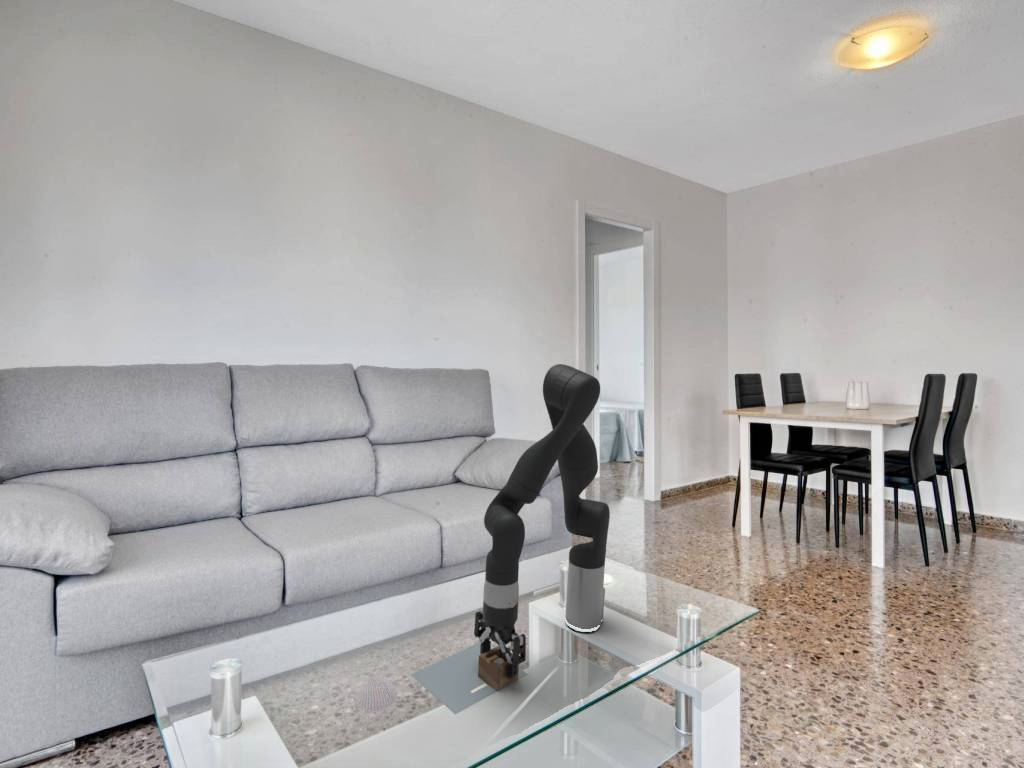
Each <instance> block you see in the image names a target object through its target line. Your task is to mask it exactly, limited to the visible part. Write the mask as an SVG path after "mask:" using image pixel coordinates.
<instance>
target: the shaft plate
mask: <svg viewBox="0 0 1024 768" xmlns="http://www.w3.org/2000/svg"><path fill="white" fill-rule="evenodd" d="M480 646H481V643H480V642H479V641H478V642H477V643H475V644H473V645H471V646H469V647H467V648H464V649H462V650H460V651H458V652H456V653H454V654H452V655H449V656H447V657H445V658H443V659H441V660H438V661H436V662H434V663H432V664H430V665H428V666H426V667H424V668H422V669H420V670H417V671H416V672H414V673H411V674H410V676H411V677H412V678H413V679H414V680H416V681H417V682H418V683H420V685H421V686H422V687H424V688H425V689H426V690H427V691H428V692H429V693H431V694H432V695H433V697H435V698H436V699H437V700H439V701H440V702H441V703H442V704H443V705H444V706H445V707H446V708H447V709H449V710H450V711H451V712H452V713H453V714H454V715H457V714H459V713H461V712H462V711H464V710H465V709H468V708H470V707H471V706H473V705H475V704H476V703H479V702H480V701H482V700H484V699H486V698H487V697H490V696H491V695H494V693H497V691H496V690H494V689H493V688H492V687H491V686H489V685H488V684H487V683H485V682H484V681H483V680H482V679H480V678H479V677H478V664H479V655H481V653H480ZM493 662H494V663H495V664H496V665H500V664H502V663H504V662H505V661H504V659H502V658H498V659H496V660H494V661H493ZM527 675H528V673H527V672H525V671H524V670H523V669H521V668H520V667H519V672H518V680H520V679H521V678H524V677H525V676H527ZM504 688H505V687H503V688H502V689H504Z"/></svg>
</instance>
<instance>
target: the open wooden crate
mask: <svg viewBox="0 0 1024 768" xmlns="http://www.w3.org/2000/svg"><path fill="white" fill-rule="evenodd" d="M510 654H511V657H512V656H513V652H512V651H510ZM498 658H502V659H504V661H505V662H504V663H502V664H500V665H496V664H495V663H494V662H493V661H494V660H496V659H498ZM507 662H508V661H507V658H506V655H505V654H504V653H502V650H501V647H500V646H499V645H497V646H496V647H494V648H491V650H489V651H487V652H485V653H483V654H481V655H479V664H478V677H479V678H480V679H482V680H483V681H484V682H485V683H487V684H488V685H489V686H491V687H492V688H493V689H494V690H496V692H498V691H501V690H502V689H504V688H505V687H507V686H509V685H511V684H513V683H514V682H516V681H518V680H519V679H518V672H519V668H520V664H518V666H517V675H516V676H515V677H513V678H511V679H508V678H507V677H506V673H507ZM503 687H504V688H503Z"/></svg>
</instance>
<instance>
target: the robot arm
mask: <svg viewBox="0 0 1024 768" xmlns="http://www.w3.org/2000/svg"><path fill="white" fill-rule="evenodd" d="M542 396H543V397H542V398H543V400H544V404H545V407H546V410H547V414H548V417H549V420H550V424H551V429H552V430H551V431H550V432H549V433H547V434H546V435H545V436H544V437H542V438H541V439H539V440H537V441H536V442H535V443H533V444H532V445H531V446H529V447H528V448H527V449H526V450H525V451H524V452H523V453H522V455H520V457H519V458H518V460H517V462H516V464H515V466H514V468H513V470H512V472H511V473H510V475H509V477H508V480H507V482H506V483H505V485H504V486H503V487H502V488H501V489H500V490H499V492H498V493H497V494H496V496H495V497H494V498H493V499H492V501H491V502H490V503H489V505H488V507H487V508H486V511H485V514H484V518H483V525H484V528H485V529H486V531H487V532H488V533H489V535H490V536H491V537H492V544H491V545H492V546H491V547H492V548H491V549H490V550H489V552H488V553H487V556H486V560H485V573H484V574H485V579H484V584H483V595H482V596H483V600H482V601H483V602H482V609H481V610H479V611H477V612H475V617H474V618H475V619H474V629H473V636H474V637H475V638H478V643H479V642H480V643H481V646H480V653H481V654H483V653H485V652H487V651H489V650H491V649H492V647H491V646H492V644H491V643H492V642H493V643H496V644H497V646H500V647H501V650H502V653H504V654H505V655H506V658H507V661H508V662H507V673H506V677H507V678H508V679H511V678H513V677H515V676H516V675H517V666H518V664H519V665H520V664H522V663H524V662H526V660H527V658H526V657H527V656H526V655H527V654H526V653H527V652H526V650H527V649H526V646H527V645H526V644H527V643H526V642H527V640H526V639H527V638H526V635H525V633H521V634H519V633H517V632H516V629H515V625H516V622H517V620H518V616H519V597H520V595H519V594H520V584H519V570H520V569H519V568H520V567H519V566H520V563H519V562H520V558H521V554H522V551H523V547H524V543H525V538H526V530H525V528H526V527H525V523H524V521H523V518H522V517H521V516H520V515H519V513H520V512H521V510H522V508H523V507H524V506H525V505H530V504H532V503H534V502H535V501H536V500H537V498H538V496H539V494H540V493H541V490H542V489H543V486H544V485H545V482H546V480H547V478H548V476H549V475H550V473H551V471H552V469H553V468H554V466H555V464H556V462H557V465H558V470H559V476H560V480H561V487H562V493H563V494H562V495H563V512H564V523H565V528H566V530H567V532H569V533H570V534H572V535H574V536H581V537H584V538H585V537H586V538H588V539H589V538H590V539H592V540H591V541H589V542H585V543H578V544H576V545H573V546H572V547H571V548H570V550H569V553H568V567H567V568H568V570H567V571H568V572H567V587H566V600H565V602H566V604H565V618H566V620H567V622H568V623H569V624H571V625H573V626H575V627H578V628H581V629H591V628H594V627H597V626H598V625H600V623H601V620H602V619H603V620H604V613H605V600H606V598H605V596H606V588H605V587H604V583H605V568H606V567H605V566H606V565H605V564H606V555H607V554H606V553H607V541H608V533H609V526H610V517H611V512H610V508H609V505H608V504H607V502H603V501H597V500H592V499H586V498H585V499H584V498H583V497H582V498H581V497H580V495H581V494H582V493H583V491H584V490H586V489H587V487H588V486H590V484H591V483H592V482H593V480H594V479H595V478H596V476H597V473H598V470H599V462H598V452H597V447H596V443H595V442H594V439H593V438H592V436H591V433H590V432H589V431H588V429H587V427H586V426H585V425H584V423H585V422H586V420H587V419H588V418H589V417H590V415H591V413H592V411H593V410H594V408H595V407H596V405H597V403H598V401H599V398H600V396H601V383H600V381H599V379H597V378H596V377H595V376H593V375H590V374H588V373H587V372H584V371H582V370H580V369H578V368H575V367H573V366H570V365H568V364H562V363H559V364H554V365H553V366H551V367H550V368H549V369H548V370H547V372H546V373H545V376H544V379H543V383H542ZM601 624H602V623H601ZM508 644H510V646H508V647H507V646H506V645H508ZM510 652H511V653H512V654H513V656H512V657H511V654H510Z"/></svg>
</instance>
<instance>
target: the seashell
mask: <svg viewBox="0 0 1024 768" xmlns="http://www.w3.org/2000/svg"><path fill="white" fill-rule="evenodd" d="M352 698H353V701H354V703H353V704H354V706H355V707H356V708H357V709H359V710H362V711H365V712H376V713H377V712H380V711H381V710H380V708H382V709H384V708H383V707H386V706H387V707H388V708H389V707H391V706H392V705H394V703H395V702H396V700H397V698H398V689H396V686H394V685H392V684H391V683H390V682H388V681H386V680H385V679H383V678H381V677H377V676H373V677H370V678H368V679H366V680H364V682H363V683H362V685H361V686H360V687H359V689H358V691H357V692H356V693H355V695H354V697H352ZM387 707H386V708H387ZM379 710H380V711H379Z"/></svg>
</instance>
